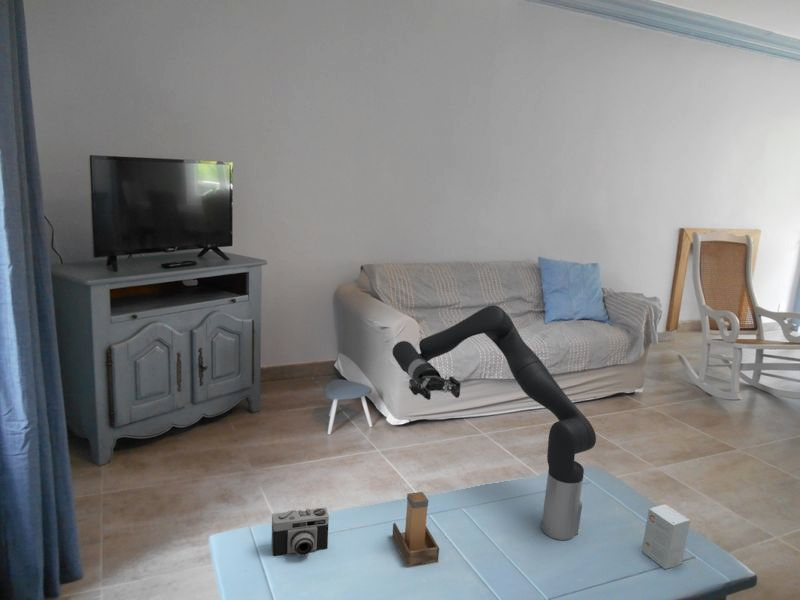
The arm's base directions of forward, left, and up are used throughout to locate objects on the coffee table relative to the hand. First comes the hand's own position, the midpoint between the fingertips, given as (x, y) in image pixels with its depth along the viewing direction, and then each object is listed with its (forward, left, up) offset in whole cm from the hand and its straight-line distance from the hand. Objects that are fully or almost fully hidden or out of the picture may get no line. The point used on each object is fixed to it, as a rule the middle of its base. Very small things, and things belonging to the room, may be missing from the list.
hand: (443, 395), depth 168 cm
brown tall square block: (+12, +16, -34) cm, 40 cm away
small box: (-51, +35, -35) cm, 71 cm away
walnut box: (+12, +17, -35) cm, 41 cm away
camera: (+41, +11, -35) cm, 55 cm away
